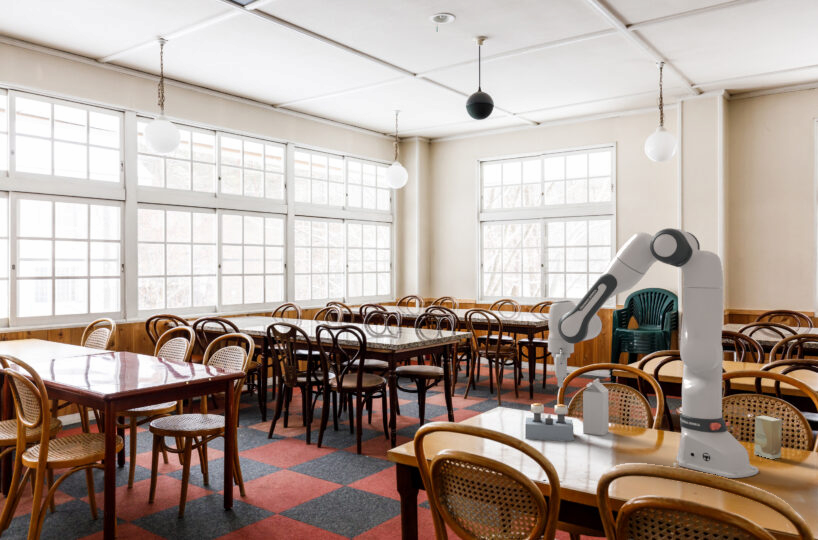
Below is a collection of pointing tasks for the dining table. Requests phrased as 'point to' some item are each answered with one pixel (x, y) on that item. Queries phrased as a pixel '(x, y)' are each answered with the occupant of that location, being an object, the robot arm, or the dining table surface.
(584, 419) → the milk carton
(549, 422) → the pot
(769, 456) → the skincare box
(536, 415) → the knob
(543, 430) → the mount
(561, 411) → the knob
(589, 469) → the dining table surface
